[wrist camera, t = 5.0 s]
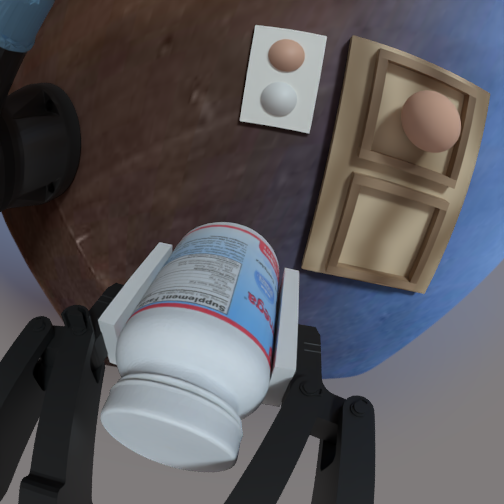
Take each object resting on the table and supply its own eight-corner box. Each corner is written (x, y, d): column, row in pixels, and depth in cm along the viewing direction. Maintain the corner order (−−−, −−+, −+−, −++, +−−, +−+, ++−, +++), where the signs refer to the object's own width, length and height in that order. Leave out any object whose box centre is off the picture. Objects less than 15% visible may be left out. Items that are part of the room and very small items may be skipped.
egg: (387, 137, 21) (407, 145, 17) (399, 82, 19) (421, 79, 15) (436, 154, 21) (463, 167, 17) (448, 103, 19) (477, 105, 14)
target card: (240, 120, 24) (239, 121, 23) (256, 26, 20) (255, 24, 19) (309, 133, 24) (309, 133, 23) (326, 37, 19) (327, 36, 19)
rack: (301, 262, 30) (301, 274, 28) (350, 38, 19) (354, 32, 17) (421, 287, 29) (427, 299, 27) (483, 93, 18) (495, 94, 16)
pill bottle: (276, 309, 18) (258, 486, 9) (182, 300, 19) (115, 455, 9) (283, 220, 16) (269, 425, 6) (172, 214, 16) (49, 372, 6)
